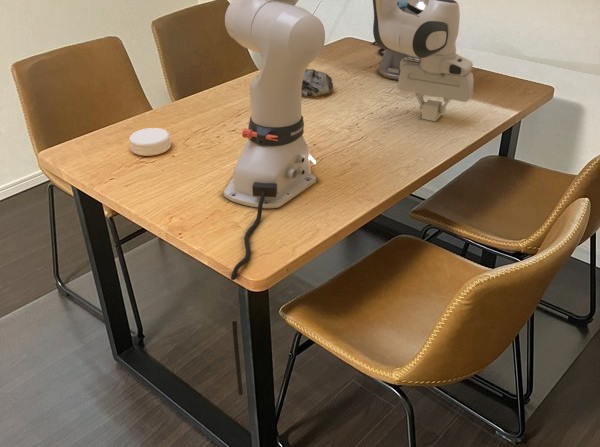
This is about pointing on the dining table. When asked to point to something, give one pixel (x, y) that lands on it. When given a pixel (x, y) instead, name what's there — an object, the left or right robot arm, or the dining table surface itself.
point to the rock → (316, 83)
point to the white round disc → (150, 141)
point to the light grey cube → (431, 110)
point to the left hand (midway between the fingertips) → (432, 110)
